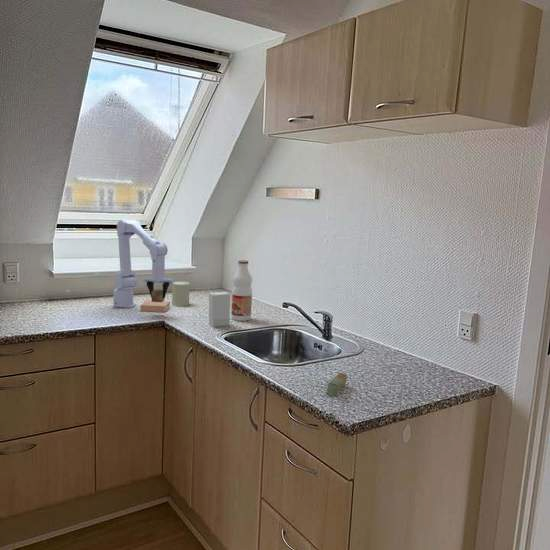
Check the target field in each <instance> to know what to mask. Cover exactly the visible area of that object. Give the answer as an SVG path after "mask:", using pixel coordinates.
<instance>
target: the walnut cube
mask: <svg viewBox="0 0 550 550" xmlns="http://www.w3.org/2000/svg"><path fill="white" fill-rule="evenodd" d="M151 301H152V302H163V301H165V298H163V289H153V291H152V298H151Z"/></svg>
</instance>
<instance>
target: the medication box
mask: <svg viewBox="0 0 550 550" xmlns="http://www.w3.org/2000/svg"><path fill="white" fill-rule="evenodd" d="M347 378H348V375H347V373H344V372H338V374H336V376H334V377H333V378H332V379H331V381H329V382H328V385H327V390H326V396H327V397H328V396H329V397H333V398H335V397H336V396H337V395H338V394H339V393H340V392H341V391H342V389H344V387H346V385H347Z"/></svg>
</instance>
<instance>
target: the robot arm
mask: <svg viewBox="0 0 550 550" xmlns="http://www.w3.org/2000/svg"><path fill="white" fill-rule="evenodd" d="M116 233H117V235H116V236H117V239H118V253H119V254H118V255H119V267H120V269H119V271H118V272H117V273H115V279H114V285H115V287H116V288H114V290H113V294H112V295H113V296H112V297H113V298H112V299H113V300H112V301H113V305H112V307H113V308H130V309H132V308H134V307H135V306H136V303H134V289H136V286H137V285H138V279H137V276H136V272H135V271H133V270H132V261H131V260H132V259H131V247H130V246H131V245H130V243H131V242H130V239H131V238H132V236H135V235H137V237H139V238H140V239H141V240H142V244H143V245H144V246H145V247H146V248H147V249H148V250H149V254H150V258H151V262H152V263H151V265H152V266H151V277H142V283H146V286H147V288H148V291H149V294H150V298H151V299H152V291H153V290H154V286H155V283H156V284H157V283H158V284H159V283H161V284H162V290H163V298H164V299H166V294H167V291H168V288H169V286H170V284H171V285H172V284H173V283H174V282H175V279H174V278H169V277H168V278H167V277H165V271H166V270H165V267H166V266H165V261H166V259H165V258H166V256H167V254H168V251H169V250H168V246H167V245H166V244H165V243H161V242H160V241H159V240H157V239H156V237H155V236H154V235H153V234H148V233H147V232H146V231H145V229H144V228H143V227H142V223H141V221H139V220H138V219H120V220H118V222H117V224H116Z"/></svg>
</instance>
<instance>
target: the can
mask: <svg viewBox="0 0 550 550" xmlns="http://www.w3.org/2000/svg"><path fill="white" fill-rule="evenodd" d="M190 284H191V283H190V282H188V281H174V283H173V284H172V283H171V285H172V286H171V287H172V288H171V290H172V291H171V295H172V296H171V297H172V298H171V305H172V306H173V305H174V306H173V307H187V305H188V306H190V287H191V286H190Z"/></svg>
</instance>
